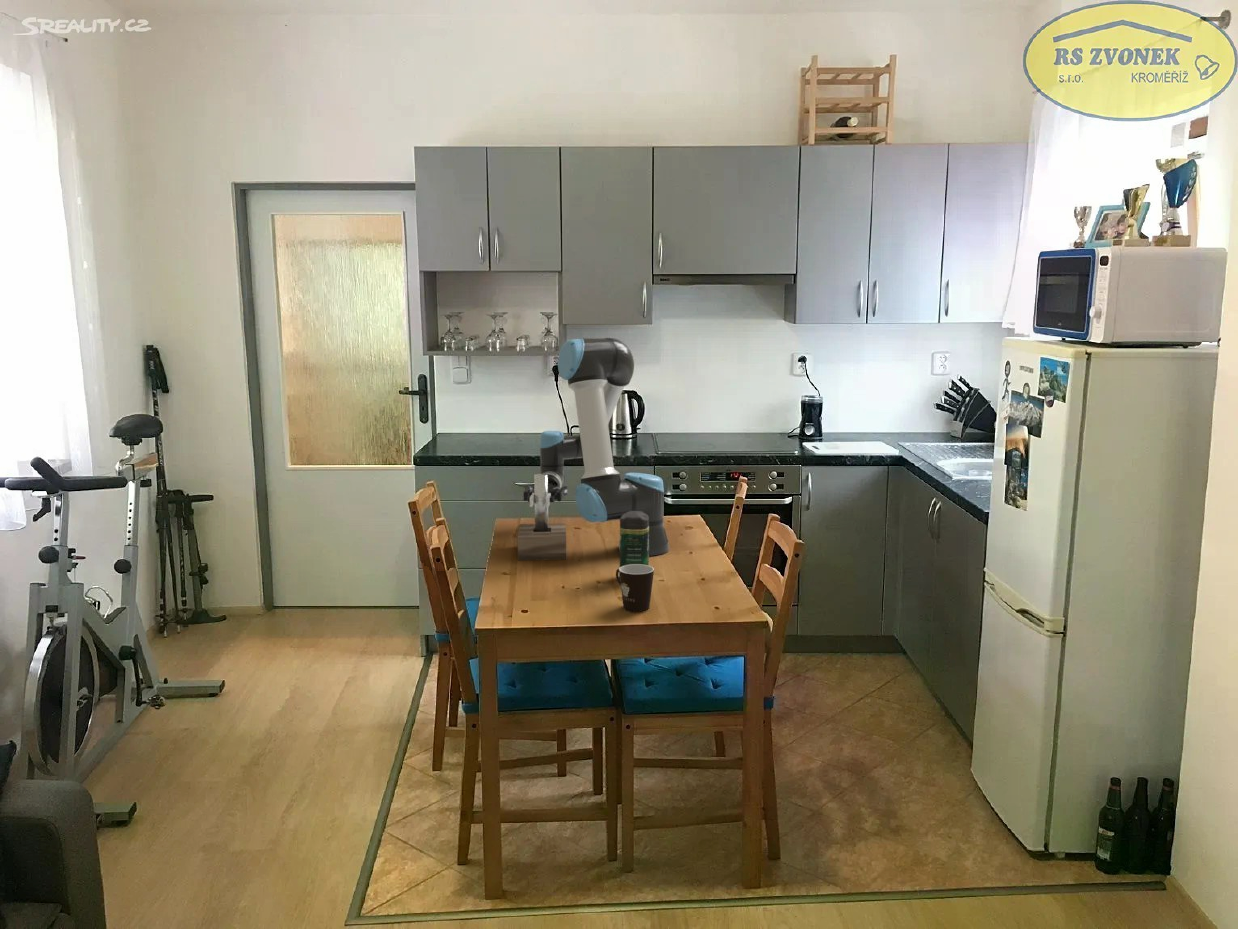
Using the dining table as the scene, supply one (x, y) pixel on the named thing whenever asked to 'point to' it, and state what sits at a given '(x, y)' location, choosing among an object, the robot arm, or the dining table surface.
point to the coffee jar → (634, 538)
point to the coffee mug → (635, 586)
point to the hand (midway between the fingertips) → (539, 502)
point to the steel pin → (541, 502)
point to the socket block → (542, 542)
